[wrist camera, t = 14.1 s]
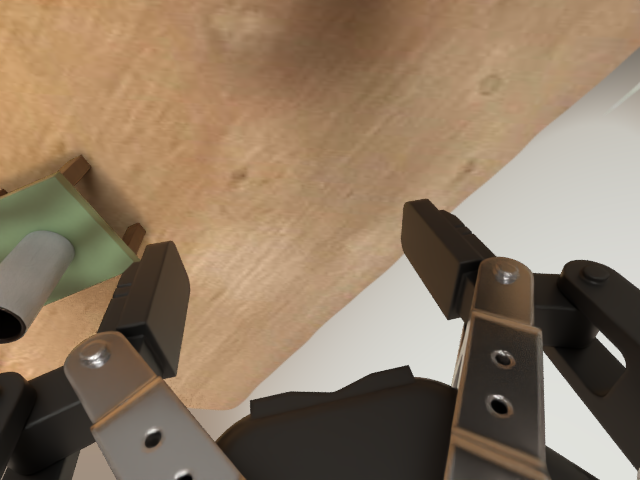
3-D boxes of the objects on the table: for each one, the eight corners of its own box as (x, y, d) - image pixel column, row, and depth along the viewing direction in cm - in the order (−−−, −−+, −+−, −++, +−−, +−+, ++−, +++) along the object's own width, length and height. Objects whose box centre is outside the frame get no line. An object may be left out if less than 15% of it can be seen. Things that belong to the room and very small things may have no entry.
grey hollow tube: (65, 227, 34) (9, 301, 26) (82, 263, 37) (36, 340, 28) (13, 231, 33) (-62, 308, 25) (34, 267, 36) (-27, 348, 28)
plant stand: (-16, 191, 37) (-62, 226, 32) (82, 149, 37) (54, 176, 31) (68, 267, 44) (43, 306, 39) (151, 232, 44) (138, 266, 38)
